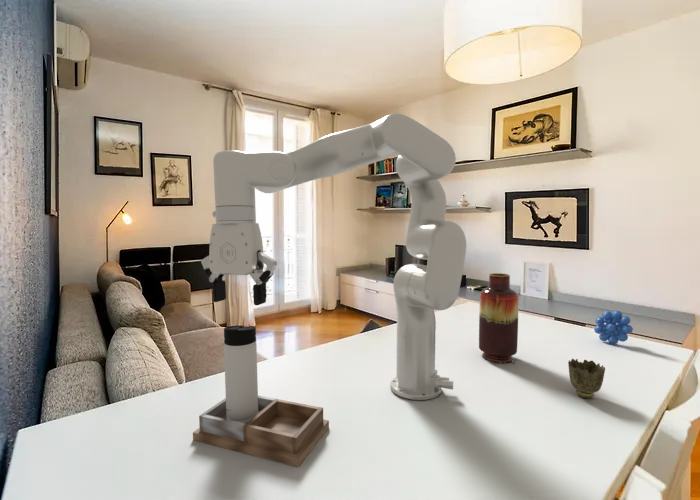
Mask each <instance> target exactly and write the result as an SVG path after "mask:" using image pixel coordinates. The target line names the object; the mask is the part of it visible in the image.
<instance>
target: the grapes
mask: <svg viewBox="0 0 700 500" xmlns="http://www.w3.org/2000/svg"><path fill="white" fill-rule="evenodd" d="M594 321H595V324H596V326H595V327H594V333H596V334H598V338H599V340H600V341H602V342H608V343H609V344H610V345H617V344H618V343H619V342H622V343H623V342H626V341H628V339H629V336H628V335H629V334H630V335H631V334H632V332H633V330H634V328H633V326H632V325H629V324H631V318H630V316H627V315H623V313H622V312H621V310H614V311H613V312H612V311H609V310H606V311H604V312H602V315H601V316H598V317H597V318H596V319H595V320H594Z"/></svg>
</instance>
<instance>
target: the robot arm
mask: <svg viewBox="0 0 700 500" xmlns="http://www.w3.org/2000/svg"><path fill="white" fill-rule="evenodd" d="M395 156H398V157H397V159H396V162H395V170H396V172H397V175H398V177H399V179H400V180H401V181H402V182H403V183H404V184H405V186H406V187H407V190H408V191H409V194H410V198H411V205H410V212H409V217H408V218H409V219H408V225H407V231H406V238H405V249H406V250H407V253H408V254H409V255H410V256H412V257H413V258H416V259H418V260H419V259H420V260H427V262H426V264H425V265H424V264H421V263H420V264H419V263H408V264H405V265H403V266H401V267H400V268H399V269H398V270H397V272H396V273H395V275H394V278H393V293H394V300H395V306H396V377H394V378H393V379H391V381H390V390H391V391H392V392H393V394H395V395H397V396H399V397H401V398H404V399H406V400H413V401H427V400H432V399H434V398H437V397H438V396H439V395H440V394H441V393H442V388H443V389H447V390H454V381H453V380H450V377H448V376H440V375H438V369H436V330H437V325H436V323H437V321H436V315H435V314H436V313H435V311H445V310H448V309H449V308H450V307H452V306H453V305H454V303H455V302H456V300H457V298H458V296H459V293H460V288H461V282H462V279H463V278H462V277H463V272H464V271H463V270H464V265H465V261H466V253H467V239H466V234H465V233H464V231H463V228H462V227H461V226H460V225H459V224H458V223H457V222H454V221H451V220H446V212H447V196H446V192H445V190H444V188H443V186H442V184H441V182H440V179H443V178H445V177H447V176H448V175H449V174H451V172H453V169H454V167H455V165H456V162H457V161H456V153H455V150H454V148H453V147H452V145H451V144H450V143H449V142H448V141H447V140H446V139H444V138H443V137H441V135H439V134H437V133H435V132H434V131H432V130H431V129H429V128H428V127H426V126H425V125H424V124H422V123H420V122H418V121H417V120H415V119H414V118H412V117H409V116H408V115H405V114H402V113H398V112H392V113H390V114H388V115H385V116H384V117H382V118H380V119H378V120H376V121H374V122H372V123H368V124H364V125H361V126H357V127H354V128H350V129H345V130H342V131H338V132H334V133H330V134H328V135H325V136H322V137H320V138H319V139H317V140H314V141H313V142H311V143H309V144H307V145H305V146H303V147H301V148H297V149H295V150H292V151H290V152H281V151H278V150H274V151H273V150H270V151H269V150H268V151H256V152H246V151H241V150H232V149H231V150H221V151H218V152H216V153H215V154H214V156H213V162H212V163H213V164H212V166H213V184H214V185H213V186H214V188H213V189H214V202H215V203H214V205H215V208H214V209H215V210H213V212H212V214H211V215H212V217H213V218H214V219H215V223H212V226H211V231H210V237H209V249H208V250H209V255H207V256H206V257H204V258H202V259H201V261H200V262H201V265H202V267H203V270H204V273H205V275H206V276H207V277H208V281H209V282H210V283H211V284H212V285H211V286H212V287H211V288H212V302H213V303H218V302H221V301H226V299H227V288H226V286H227V285H226V280H225V279H224V278H225V276H226V275H227V276H228V275H229V276H249V275H250V277H251V278H252V280H253V281H254V283H255V284H253V287H252V295H253V296H252V297H253V305H254V306H261V305H263V304H265V303H266V302H267V283H269V280H270V279H271V278H272V276H274V272H275V270H276V268H277V265H278V262H277V260H276V259H274V258H272V257H270V256H268V255H267V254H266V253H264V245H263V238H262V233H261V229H260V224H259V223H258V222H257V212H256V210H257V209H256V190H257V191H259V192H261V193H262V194H263V193H264V194H273V193H277V192H279V191H282V190H283V191H284V190H285V189H286V190H287V189H289V188H292V187H296V186H299V185H302V184H304V183H308V182H312V181H316V180H319V179H326V178H329V177H333V176H336V175H340V174H343V173H346V172H349V171H352V170H355V169H359V168H362V167H365V166H368V165H371V164H374V163H378V162H380V161H383V160H384V161H385V160H387V159H389V158H392V157H395ZM265 265H266V268H265V267H264V266H265ZM264 268H265V270H264Z"/></svg>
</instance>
